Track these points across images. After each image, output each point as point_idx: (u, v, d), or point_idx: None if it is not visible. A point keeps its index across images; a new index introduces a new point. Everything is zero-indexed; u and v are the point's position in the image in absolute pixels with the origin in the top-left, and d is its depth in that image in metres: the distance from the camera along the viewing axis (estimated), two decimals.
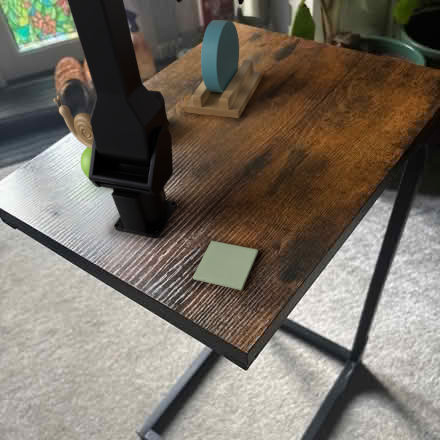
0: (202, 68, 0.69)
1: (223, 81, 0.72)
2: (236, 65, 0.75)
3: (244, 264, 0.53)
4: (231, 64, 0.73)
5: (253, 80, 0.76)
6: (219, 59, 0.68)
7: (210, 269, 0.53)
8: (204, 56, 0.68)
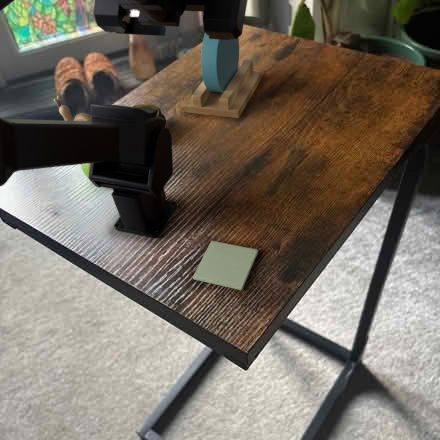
0: (202, 68, 0.69)
1: (223, 81, 0.72)
2: (236, 65, 0.75)
3: (244, 264, 0.53)
4: (231, 64, 0.73)
5: (253, 80, 0.76)
6: (219, 59, 0.68)
7: (210, 269, 0.53)
8: (204, 56, 0.68)
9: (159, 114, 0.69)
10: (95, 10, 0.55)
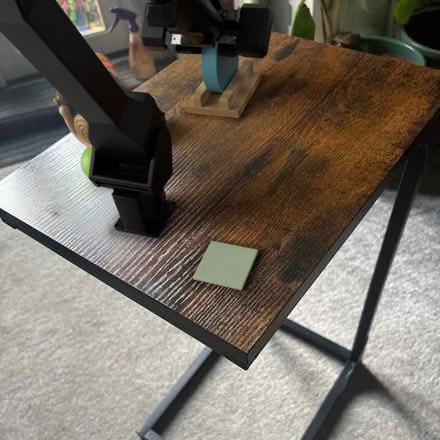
0: (202, 68, 0.69)
1: (223, 81, 0.72)
2: (236, 65, 0.75)
3: (244, 264, 0.53)
4: (231, 64, 0.73)
5: (253, 80, 0.76)
6: (219, 59, 0.68)
7: (210, 269, 0.53)
8: (204, 56, 0.68)
9: None
10: (142, 33, 0.66)
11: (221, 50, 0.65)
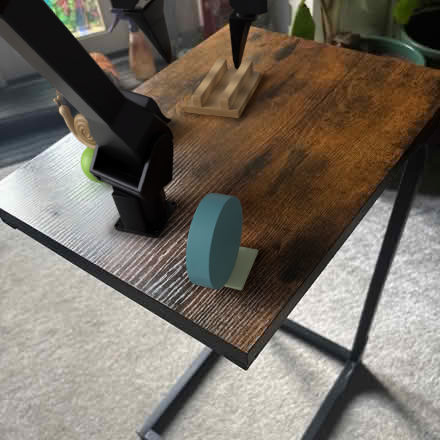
0: (190, 233, 0.45)
1: (214, 266, 0.47)
2: (232, 266, 0.52)
3: (244, 264, 0.53)
4: (227, 256, 0.50)
5: (253, 80, 0.76)
6: (218, 229, 0.45)
7: None
8: (198, 218, 0.45)
9: None
10: None
11: (234, 13, 0.49)
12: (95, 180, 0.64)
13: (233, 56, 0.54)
